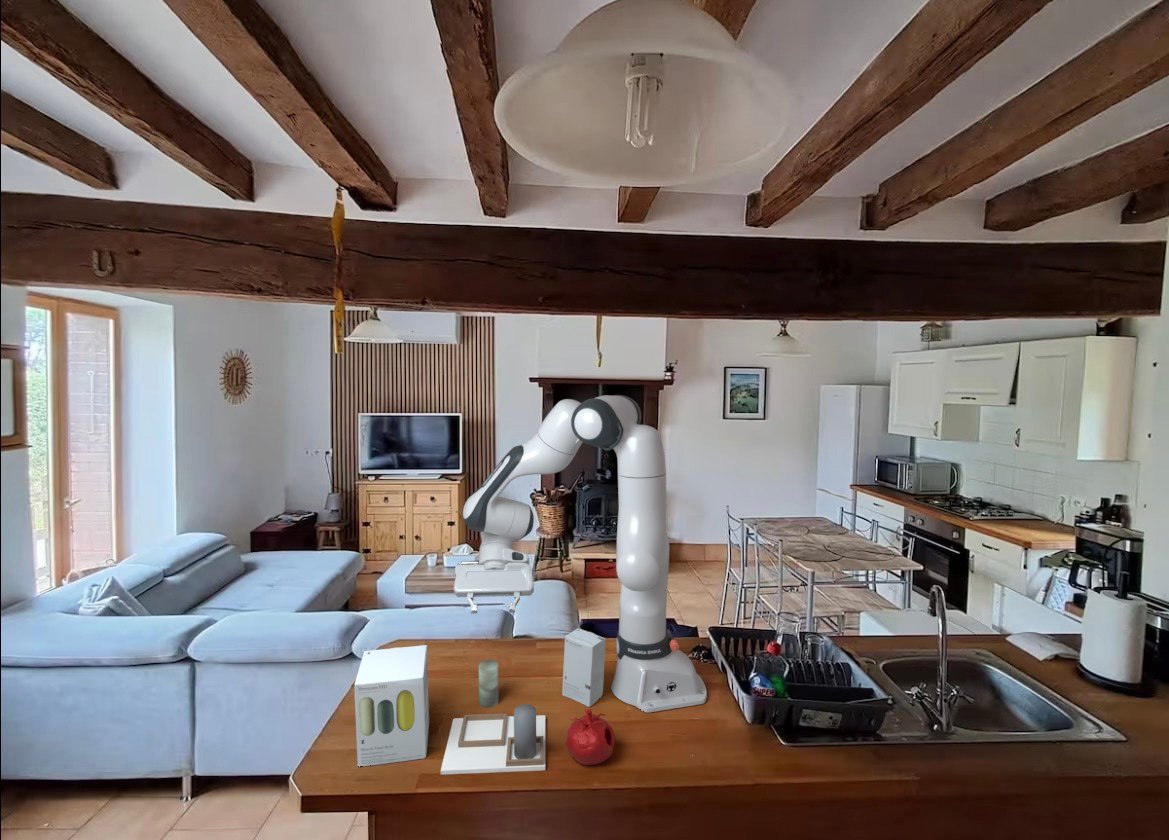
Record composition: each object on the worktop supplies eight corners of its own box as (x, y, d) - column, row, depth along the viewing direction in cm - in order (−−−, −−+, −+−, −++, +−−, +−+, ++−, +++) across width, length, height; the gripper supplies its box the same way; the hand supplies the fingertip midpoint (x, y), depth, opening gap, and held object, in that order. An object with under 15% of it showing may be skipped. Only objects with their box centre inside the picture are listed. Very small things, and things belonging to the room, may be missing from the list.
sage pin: (499, 695, 138) (498, 659, 136) (497, 707, 133) (497, 669, 132) (480, 696, 137) (479, 660, 136) (478, 707, 133) (477, 670, 132)
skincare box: (561, 696, 138) (561, 636, 136) (576, 684, 143) (576, 626, 141) (591, 708, 133) (591, 646, 131) (605, 696, 138) (606, 636, 136)
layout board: (545, 718, 129) (545, 676, 128) (545, 770, 113) (545, 723, 112) (453, 721, 128) (452, 679, 127) (440, 774, 112) (439, 726, 111)
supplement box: (356, 769, 113) (352, 684, 111) (366, 726, 126) (363, 649, 124) (426, 759, 116) (424, 676, 114) (429, 718, 129) (427, 643, 127)
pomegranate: (572, 777, 112) (571, 732, 111) (560, 742, 121) (559, 701, 120) (621, 766, 114) (621, 723, 113) (606, 733, 124) (606, 693, 123)
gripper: (454, 555, 151) (449, 608, 142) (533, 554, 152) (533, 606, 144) (457, 566, 156) (452, 617, 147) (534, 564, 157) (533, 615, 149)
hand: (492, 612), depth 146 cm, fingers open, 8 cm apart
